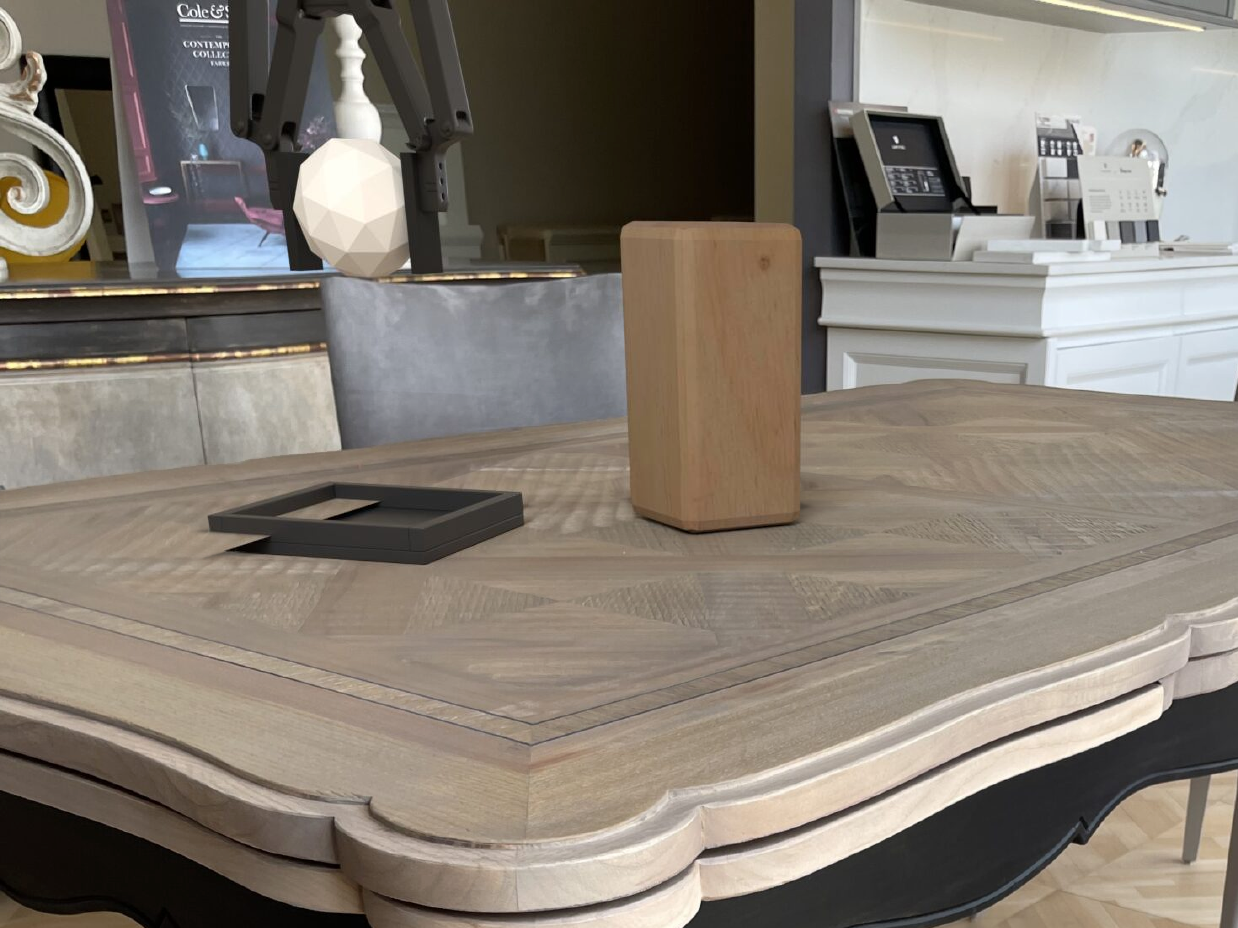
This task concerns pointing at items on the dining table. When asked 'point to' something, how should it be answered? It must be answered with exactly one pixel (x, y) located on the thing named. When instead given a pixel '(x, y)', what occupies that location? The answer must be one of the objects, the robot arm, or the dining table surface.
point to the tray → (375, 522)
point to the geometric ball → (354, 207)
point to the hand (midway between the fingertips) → (366, 271)
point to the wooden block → (713, 372)
